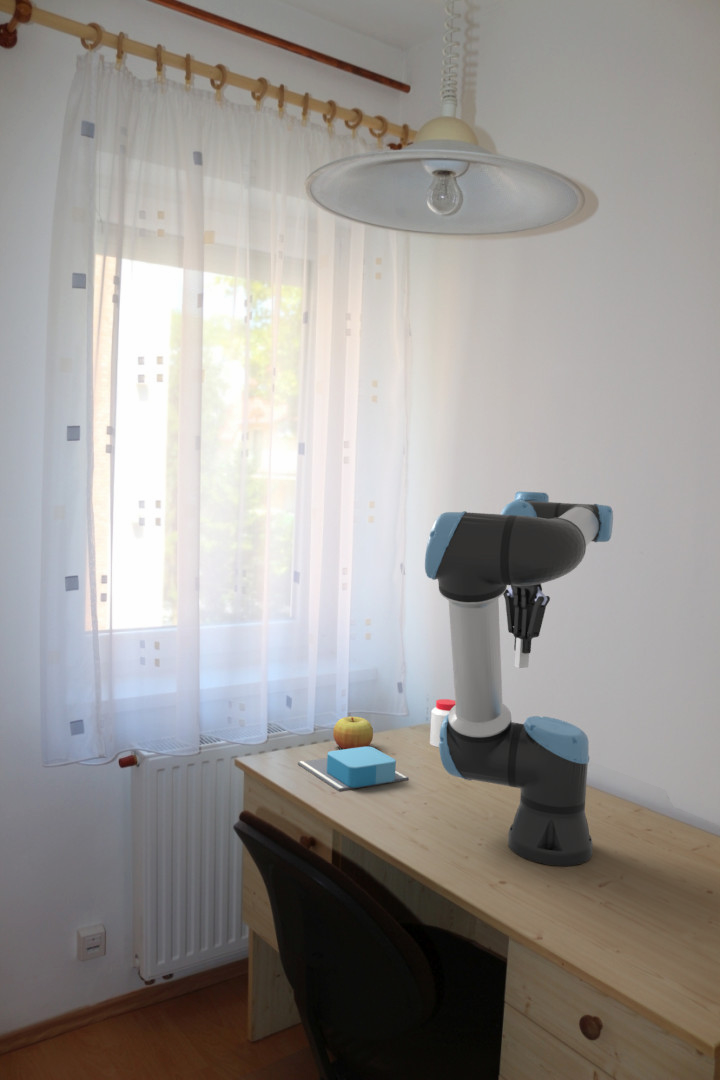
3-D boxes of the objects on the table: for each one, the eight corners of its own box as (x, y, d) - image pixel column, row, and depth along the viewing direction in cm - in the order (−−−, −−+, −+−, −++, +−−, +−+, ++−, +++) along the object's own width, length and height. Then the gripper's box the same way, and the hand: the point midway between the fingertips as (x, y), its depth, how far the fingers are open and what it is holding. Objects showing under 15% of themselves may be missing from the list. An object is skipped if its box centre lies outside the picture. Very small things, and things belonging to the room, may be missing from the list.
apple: (331, 753, 208) (333, 721, 208) (332, 741, 218) (334, 710, 218) (372, 755, 209) (374, 723, 208) (371, 743, 218) (373, 712, 218)
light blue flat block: (397, 781, 190) (369, 764, 200) (398, 760, 189) (370, 745, 200) (350, 788, 183) (324, 771, 194) (351, 767, 183) (324, 751, 193)
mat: (408, 779, 192) (408, 776, 192) (338, 791, 183) (338, 788, 183) (363, 754, 209) (364, 752, 209) (297, 764, 199) (297, 761, 199)
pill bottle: (428, 747, 218) (430, 704, 217) (430, 738, 225) (433, 696, 224) (459, 749, 216) (461, 706, 216) (460, 741, 224) (462, 699, 223)
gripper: (561, 564, 187) (554, 671, 188) (520, 558, 198) (514, 660, 199) (535, 564, 183) (528, 674, 184) (495, 558, 194) (489, 662, 196)
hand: (521, 666), depth 192 cm, fingers closed
